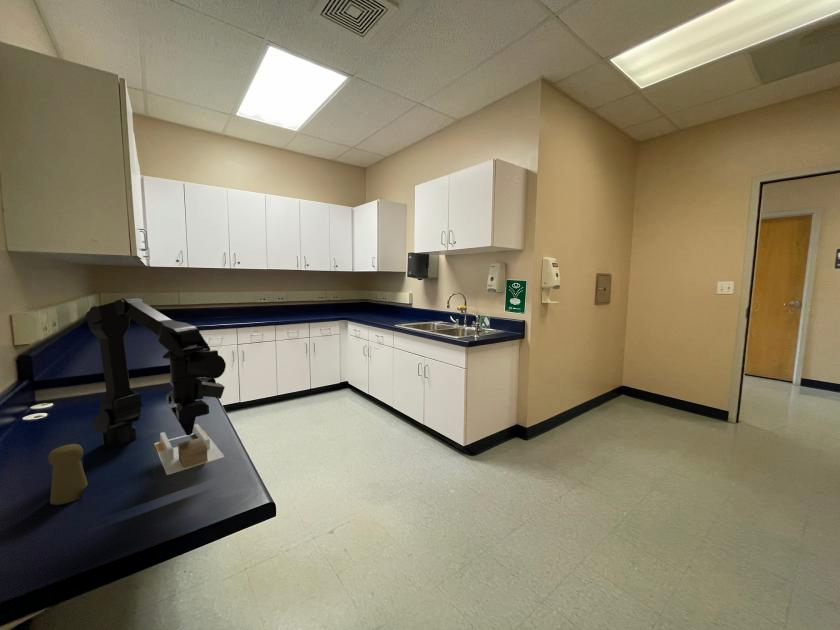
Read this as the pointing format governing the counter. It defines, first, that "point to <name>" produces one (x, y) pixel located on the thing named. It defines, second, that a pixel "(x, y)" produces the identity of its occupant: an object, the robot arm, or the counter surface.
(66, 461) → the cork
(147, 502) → the counter surface
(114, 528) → the counter surface
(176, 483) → the counter surface
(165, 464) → the white mounting bracket
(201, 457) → the walnut block
